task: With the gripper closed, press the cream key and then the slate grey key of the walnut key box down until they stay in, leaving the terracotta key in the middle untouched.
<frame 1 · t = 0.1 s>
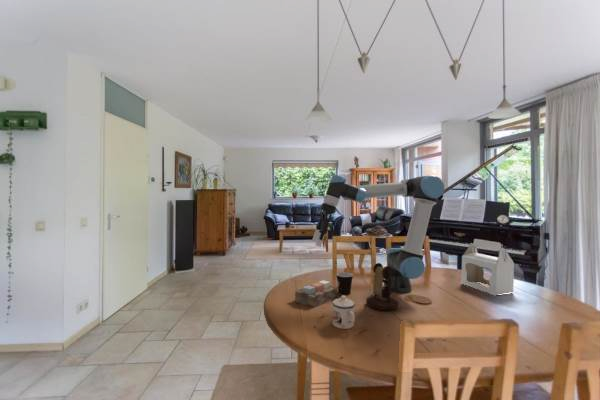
hand: (316, 243, 148), 28 cm above the table, tool tilted 20°, fingers open, 13 cm apart
cream key: (324, 286, 150), point 5 cm above the table, slide at 0.0 cm
grey key: (309, 292, 141), point 5 cm above the table, slide at 0.0 cm
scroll: (382, 306, 138), on the table
coffee mug: (344, 292, 157), on the table
terracotta key: (316, 289, 145), point 5 cm above the table, slide at 0.0 cm
teacup with lid: (345, 326, 116), on the table
gable box: (486, 289, 166), on the table
key box: (316, 299, 145), on the table
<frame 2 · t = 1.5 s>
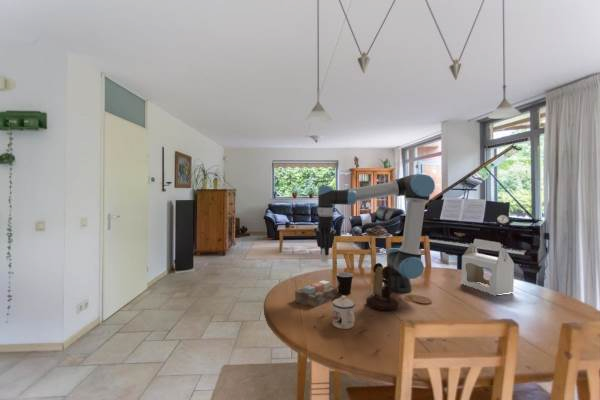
hand: (324, 261, 150), 18 cm above the table, tool pointing down, fingers closed
nothing on the table moved.
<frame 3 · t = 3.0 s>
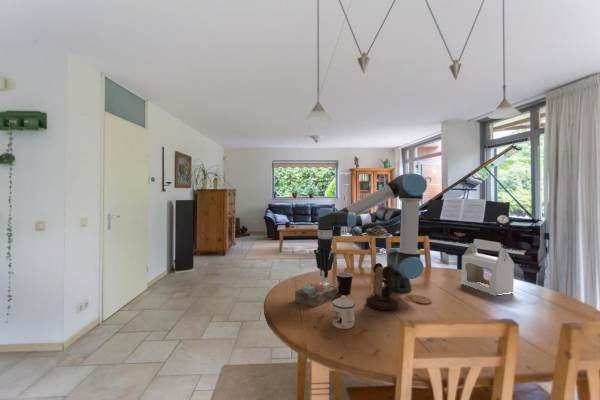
hand: (323, 283, 150), 7 cm above the table, tool pointing down, fingers closed
cream key: (324, 288, 150), point 4 cm above the table, slide at 0.8 cm, touching gripper
everything else where it was.
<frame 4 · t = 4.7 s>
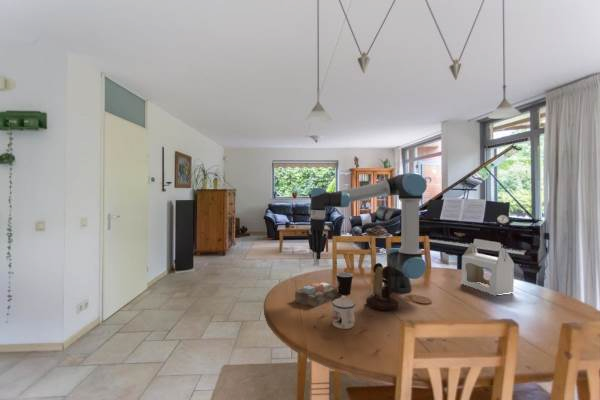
hand: (316, 265, 145), 17 cm above the table, tool pointing down, fingers closed
cream key: (324, 288, 150), point 4 cm above the table, slide at 1.1 cm
everything else where it was.
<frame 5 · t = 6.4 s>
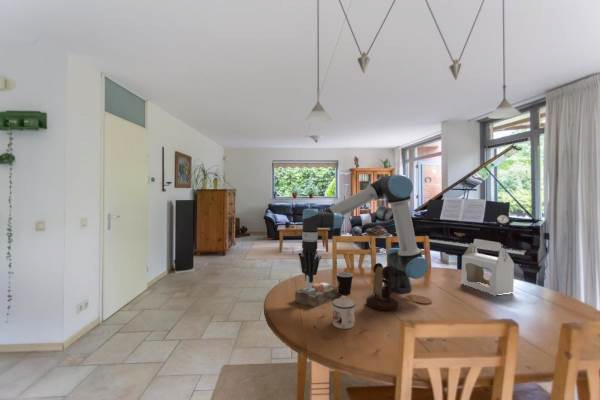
hand: (308, 288, 141), 7 cm above the table, tool pointing down, fingers closed
grey key: (309, 294, 141), point 4 cm above the table, slide at 0.9 cm, touching gripper
everything else where it was.
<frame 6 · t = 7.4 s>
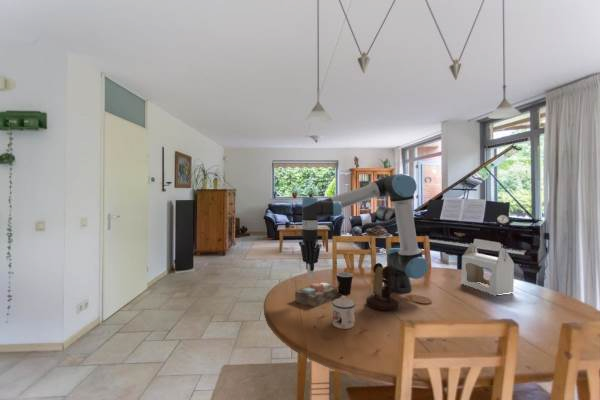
hand: (310, 276, 141), 13 cm above the table, tool pointing down, fingers closed
grey key: (309, 294, 141), point 4 cm above the table, slide at 1.1 cm
everything else where it was.
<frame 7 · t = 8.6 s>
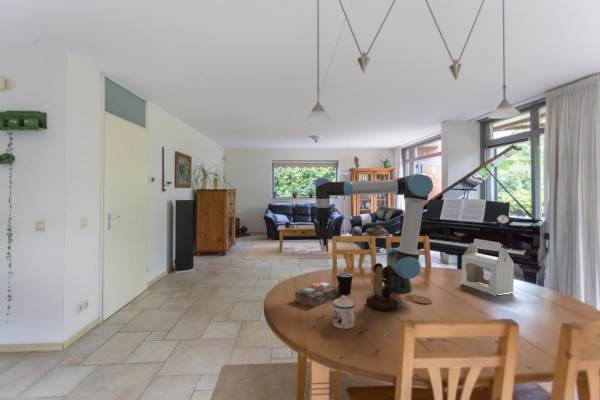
hand: (323, 251, 153), 23 cm above the table, tool pointing down, fingers closed
nothing on the table moved.
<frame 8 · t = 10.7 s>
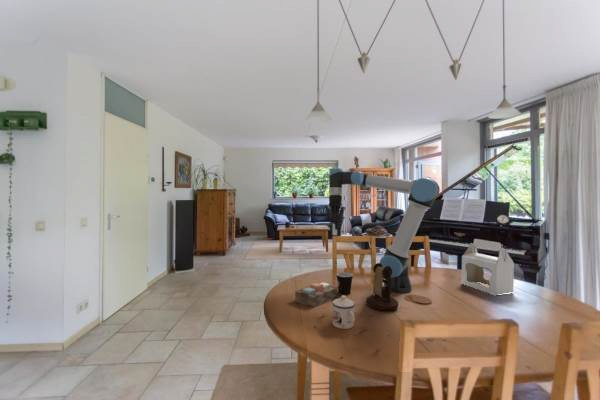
hand: (334, 234, 170), 29 cm above the table, tool pointing down, fingers closed
nothing on the table moved.
at the end: cream key slide at 1.1 cm; grey key slide at 1.1 cm; terracotta key slide at 0.0 cm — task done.
